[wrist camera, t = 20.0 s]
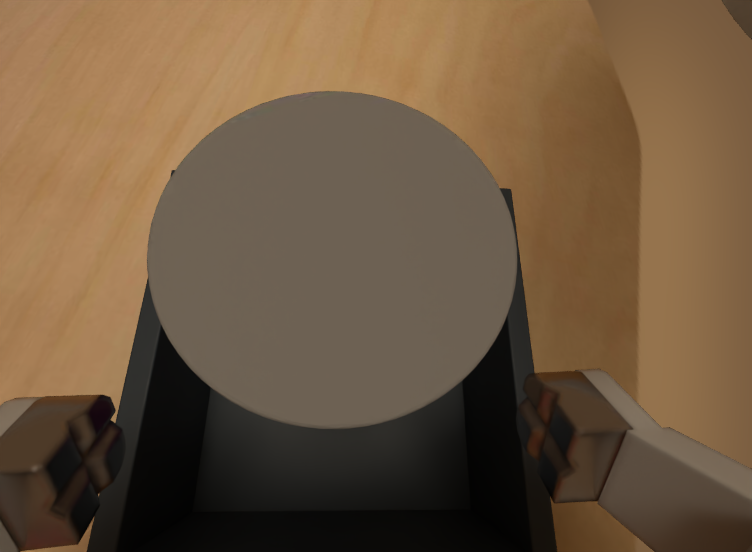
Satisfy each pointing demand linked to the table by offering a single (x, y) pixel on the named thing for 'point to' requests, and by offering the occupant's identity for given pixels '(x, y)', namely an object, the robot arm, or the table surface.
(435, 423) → the tub
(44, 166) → the table surface
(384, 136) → the container
